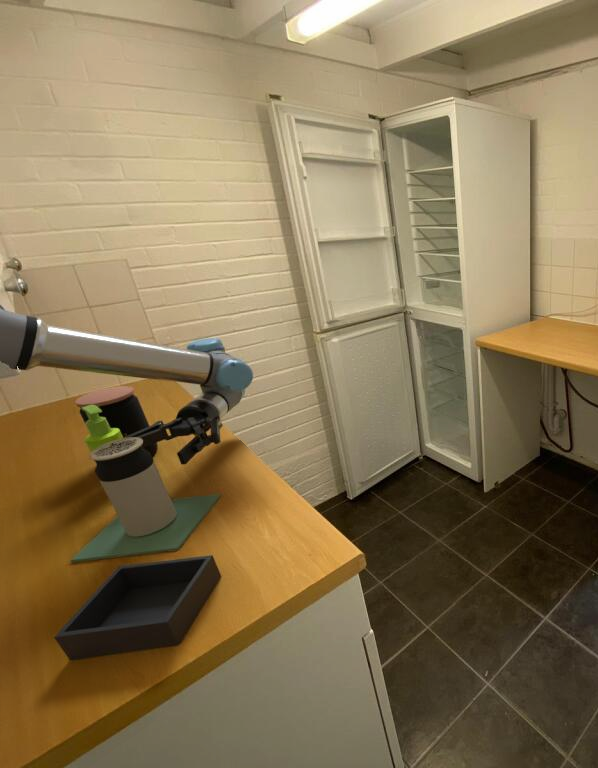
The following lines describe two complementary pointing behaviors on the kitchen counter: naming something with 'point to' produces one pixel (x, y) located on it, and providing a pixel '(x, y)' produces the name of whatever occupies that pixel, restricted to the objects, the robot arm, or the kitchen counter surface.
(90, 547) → the mat
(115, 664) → the kitchen counter surface
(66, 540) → the kitchen counter surface
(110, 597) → the dark grey tray
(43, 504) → the kitchen counter surface
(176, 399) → the kitchen counter surface
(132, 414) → the coffee jar
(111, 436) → the soap dispenser
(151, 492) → the travel mug
